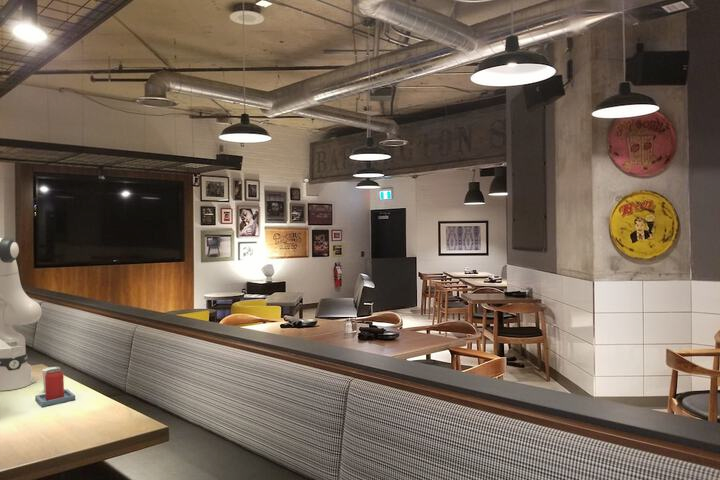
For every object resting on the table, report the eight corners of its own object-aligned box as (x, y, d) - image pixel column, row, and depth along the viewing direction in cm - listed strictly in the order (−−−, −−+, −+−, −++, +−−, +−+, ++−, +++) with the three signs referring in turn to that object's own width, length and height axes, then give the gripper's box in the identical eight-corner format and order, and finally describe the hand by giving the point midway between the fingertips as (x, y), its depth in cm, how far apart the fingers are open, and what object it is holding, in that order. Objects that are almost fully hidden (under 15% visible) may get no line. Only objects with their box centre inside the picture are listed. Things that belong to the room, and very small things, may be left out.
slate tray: (35, 400, 216) (35, 395, 216) (67, 393, 224) (67, 389, 224) (42, 407, 207) (42, 402, 207) (75, 400, 216) (75, 395, 216)
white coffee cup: (64, 389, 230) (63, 367, 230) (51, 394, 224) (50, 371, 224) (52, 388, 232) (51, 366, 232) (39, 393, 226) (38, 370, 226)
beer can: (55, 402, 212) (54, 373, 211) (41, 401, 213) (40, 372, 213) (67, 396, 218) (66, 368, 218) (54, 396, 220) (53, 368, 219)
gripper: (-17, 347, 191) (26, 342, 200) (-27, 337, 205) (14, 333, 215) (-18, 364, 191) (26, 358, 200) (-28, 353, 205) (13, 348, 215)
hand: (20, 345), depth 208 cm, fingers open, 8 cm apart
